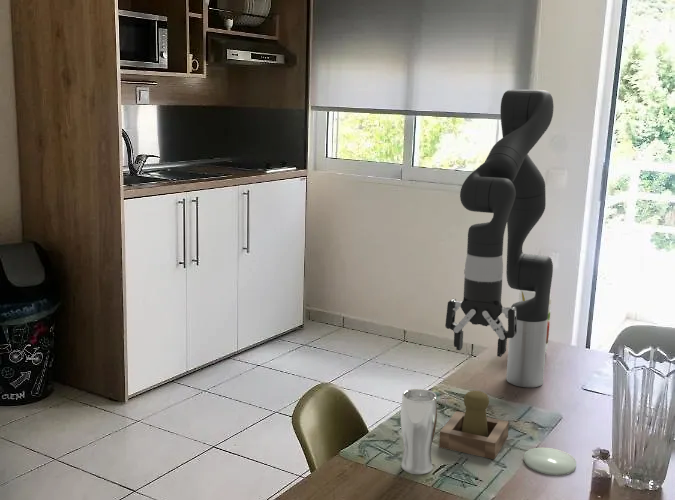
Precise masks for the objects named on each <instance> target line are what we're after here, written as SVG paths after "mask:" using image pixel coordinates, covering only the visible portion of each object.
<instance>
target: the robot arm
mask: <svg viewBox="0 0 675 500" xmlns="http://www.w3.org/2000/svg"><path fill="white" fill-rule="evenodd" d="M554 108H555V107H554V98H553V96H552V93H550V92H549V91H548V90H543V89H509V90H506V91H505V92H504V93H503V94H502V98H501V100H500V111H499V112H500V123H501V124H500V125H501V126H500V127H501V134H502V138H500V139H499V140H498V141H496V143H495V144H494V145H493V146H492V148H491V149H490V151H489V153H488V155H487V156H486V159H485V161H484V162H483V163H482V164H480V165H479V166H478V167H477V168H476V169H475V170H474V171H472V172H471V173H470V174H468V176H467V177H466V178H465V180H464V181H463V183H462V185H461V187H460V188H461V189H460V192H459V193H460V194H459V199H460V202H461V203H460V204H461V205H462V206H463V208H464V209H466V210H468V211H470V212H475V213H490V214H492V215H493V216H492V218H491V220H490V221H489V222H482V223H475V224H472V225H470V226H469V228H468V230H467V231H468V232H467V248H466V258H465V263H464V264H465V265H464V270H463V271H464V273H463V275H464V280H463V281H464V282H463V283H464V284H463V299H462V300H461V301H460V300H457V299H456V298H452V299H450V300H449V301H448V302H447V306H446V314H445V317H446V318H445V328H446V329H450V330H451V331H453V332H454V333H453V347H454V348H456V351H461V350H462V349H463V344H464V343H463V342H464V331H463V329H464V327H466V325H467V324H468V323H471V324H472V325H474V326H475V325H480V326H483V327H488V326H490V328H491V329H492V331H493V332H494V333H495V334H496V335H497V337H498V339H497V350H496V352H497V353H496V357H498V358H499V357H500V358H501V357H502V356H503V355H505V353H506V352H507V360H506V361H507V363H506V364H507V365H506V379H505V380H506V382H508V384H511V385H514V386H517V387H523V388H536V387H537V388H538V387H540V386H542V385H543V384H544V374H545V373H544V372H545V361H546V353H545V349H546V336H547V321H548V309H549V298H550V289H551V290H552V280H553V275H554V274H553V272H554V263H553V261H552V258H551V257H550V256H546V255H539V254H531V253H524V252H523V246H524V243H525V240H526V239H527V237H528V236H529V234H530V232H531V231H532V229H534V227H535V226H536V225H537V223H538V222H539V221H540V220H541V218H542V216H543V214H544V213H545V211H546V204H547V203H546V199H547V198H546V194H547V193H546V182H545V179H544V176H543V175H542V173H541V172H540V170H539V168H538V167H537V165H536V164H535V163H534V161H533V160H532V159H531V157H530V156H529V153H530V151H531V150H532V149H533V148H534V147H535V145H537V143H538V142H539V140H540V139H542V137H543V135H544V134H545V133H546V132H547V130H548V129H549V127H550V125H551V123H552V120H553V116H554ZM506 227H507V245H506V246H507V247H506V248H507V249H506V270H505V271H506V273H505V275H506V281H507V285H508V287H510V288H511V289H514V290H517V291H518V290H519V291H520V290H524V291H532V292H535V297H534V298H532V299H529V300H526V301H520V302H519V301H517V302H514V303H513V304H512V305H511V307H505V306H503V304H502V294H503V293H502V290H503V273H504V262H503V261H504V260H503V255H504V254H503V252H504V251H503V250H504V236H505V232H506ZM460 308H461V311H462V312H463V313H464V315H465V316H464V317H463V318H462V319H461V320H460V321H459V322H458V323H456V321H455V320H456V312H457V311H458V310H459V309H460ZM502 313H503V314H504V317H505V318H506V319H507V329H506V328H505V327H504V325H503V322H502V320H501V319H500V316H501V314H502ZM507 341H508V343H507ZM507 345H508V346H507Z"/></svg>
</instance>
